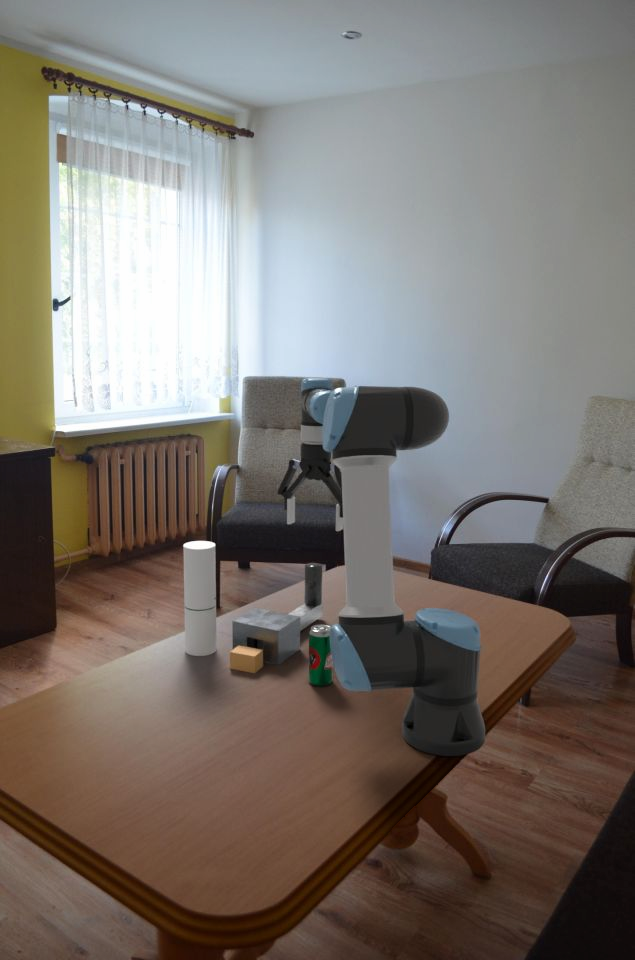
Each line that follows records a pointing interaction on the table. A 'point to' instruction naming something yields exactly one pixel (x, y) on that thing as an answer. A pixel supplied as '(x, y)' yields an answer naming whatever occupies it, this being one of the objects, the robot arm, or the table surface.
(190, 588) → the cylindrical container
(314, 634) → the soda can
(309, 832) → the table surface
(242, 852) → the table surface
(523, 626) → the table surface
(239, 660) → the block
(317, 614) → the shaft
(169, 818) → the table surface
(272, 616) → the block
